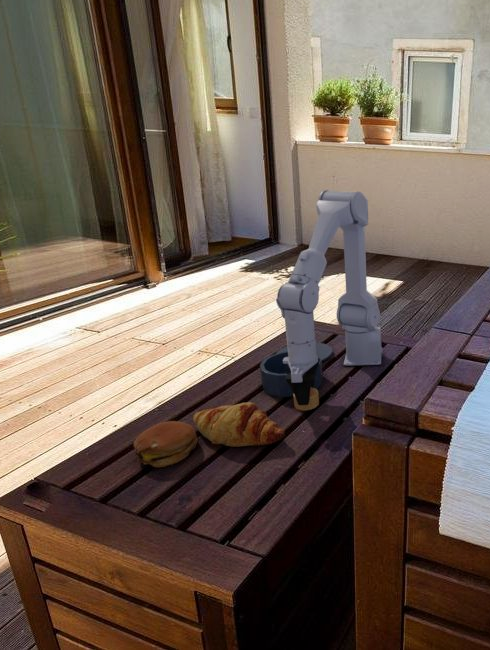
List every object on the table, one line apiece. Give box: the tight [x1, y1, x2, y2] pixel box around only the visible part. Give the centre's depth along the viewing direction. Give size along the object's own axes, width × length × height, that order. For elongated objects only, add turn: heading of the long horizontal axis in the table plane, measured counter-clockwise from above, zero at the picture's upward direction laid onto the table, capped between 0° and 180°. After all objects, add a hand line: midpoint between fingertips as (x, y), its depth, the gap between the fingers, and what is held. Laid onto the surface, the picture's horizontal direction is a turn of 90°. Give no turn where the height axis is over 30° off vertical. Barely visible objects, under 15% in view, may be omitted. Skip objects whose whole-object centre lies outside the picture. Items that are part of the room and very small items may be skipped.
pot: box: [259, 351, 324, 398], centre depth 111 cm, size 14×14×5 cm
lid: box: [275, 341, 333, 362], centre depth 125 cm, size 15×15×5 cm
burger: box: [132, 420, 199, 468], centre depth 85 cm, size 10×9×5 cm
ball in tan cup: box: [292, 387, 320, 412], centre depth 102 cm, size 5×5×4 cm
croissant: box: [192, 401, 286, 448], centre depth 90 cm, size 21×10×8 cm, turn 72°
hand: (306, 397), depth 102 cm, fingers closed on ball in tan cup, 5 cm apart
